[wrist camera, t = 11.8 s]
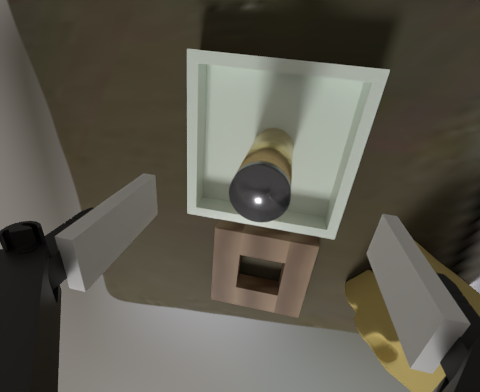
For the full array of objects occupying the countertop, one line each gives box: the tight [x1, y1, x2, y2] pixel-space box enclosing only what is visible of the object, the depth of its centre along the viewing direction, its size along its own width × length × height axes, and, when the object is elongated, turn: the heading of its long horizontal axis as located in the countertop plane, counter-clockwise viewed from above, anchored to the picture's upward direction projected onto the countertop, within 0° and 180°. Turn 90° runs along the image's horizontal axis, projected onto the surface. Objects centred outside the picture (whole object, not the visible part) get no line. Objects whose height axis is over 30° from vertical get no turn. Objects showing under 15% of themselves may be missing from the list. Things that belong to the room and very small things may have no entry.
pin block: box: [211, 219, 319, 318], centre depth 34 cm, size 12×12×2 cm
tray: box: [187, 49, 390, 239], centre depth 26 cm, size 16×16×4 cm
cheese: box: [345, 241, 480, 392], centre depth 28 cm, size 10×11×10 cm
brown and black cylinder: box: [229, 128, 293, 222], centre depth 22 cm, size 4×4×11 cm
